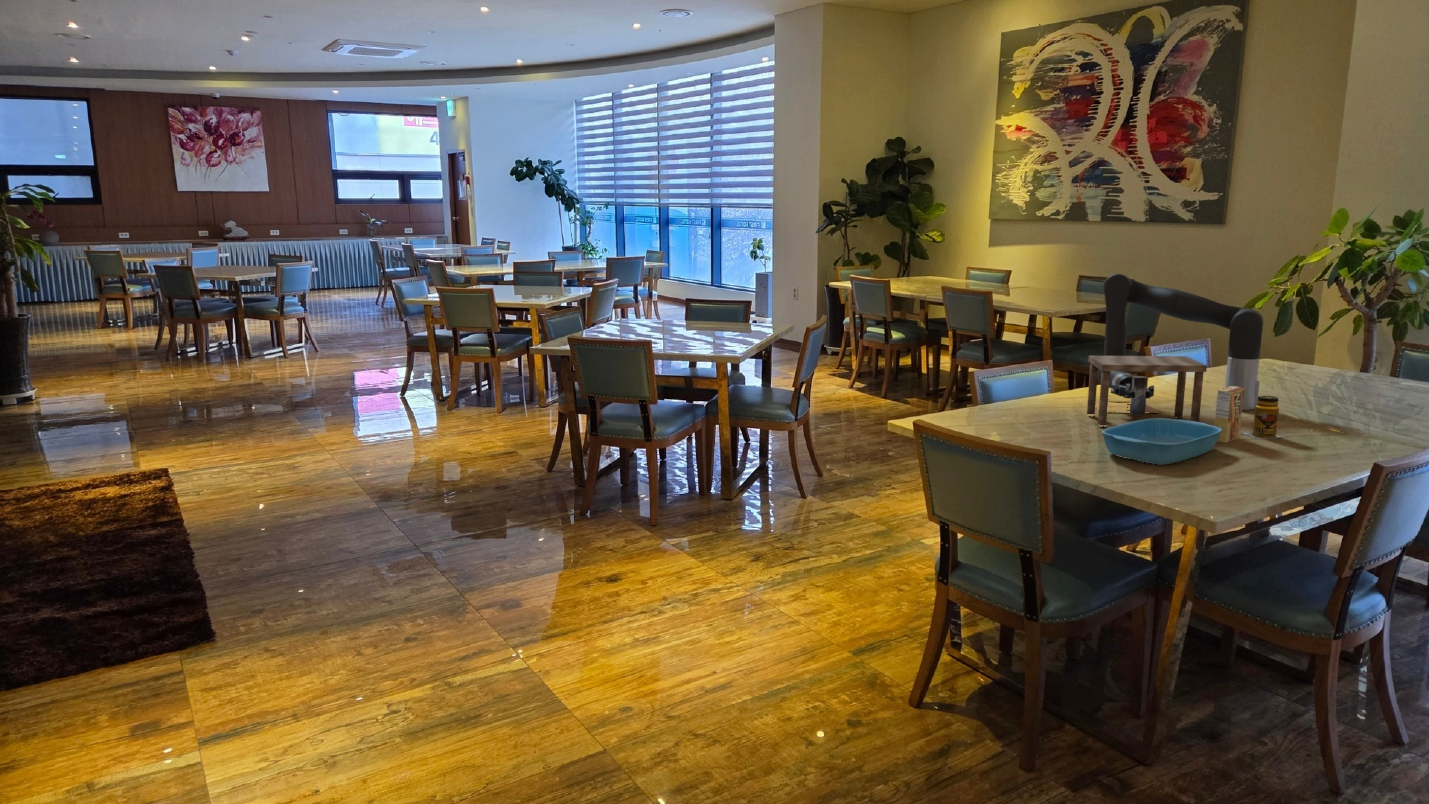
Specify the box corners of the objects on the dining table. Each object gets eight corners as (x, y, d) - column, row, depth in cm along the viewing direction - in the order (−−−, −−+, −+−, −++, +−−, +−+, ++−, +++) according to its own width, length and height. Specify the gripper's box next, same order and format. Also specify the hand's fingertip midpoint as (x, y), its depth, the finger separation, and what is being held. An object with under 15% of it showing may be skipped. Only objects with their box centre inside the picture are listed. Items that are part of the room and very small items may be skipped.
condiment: (1264, 440, 268) (1268, 400, 266) (1240, 433, 276) (1244, 394, 274) (1283, 437, 270) (1288, 398, 268) (1259, 431, 278) (1263, 392, 276)
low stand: (1181, 416, 299) (1186, 356, 295) (1200, 429, 281) (1206, 365, 277) (1084, 415, 304) (1088, 355, 299) (1098, 427, 286) (1102, 364, 282)
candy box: (1224, 435, 274) (1229, 385, 270) (1240, 438, 270) (1245, 387, 267) (1212, 440, 268) (1216, 389, 265) (1227, 443, 265) (1232, 391, 262)
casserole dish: (1155, 435, 276) (1157, 412, 275) (1232, 450, 258) (1235, 425, 257) (1086, 456, 255) (1087, 431, 253) (1164, 474, 237) (1166, 447, 236)
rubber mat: (1144, 403, 319) (1144, 402, 319) (1158, 413, 304) (1158, 412, 303) (1089, 403, 322) (1090, 401, 322) (1101, 412, 306) (1101, 411, 306)
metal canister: (1142, 412, 298) (1145, 376, 295) (1146, 415, 294) (1149, 378, 291) (1128, 412, 299) (1130, 376, 296) (1132, 415, 294) (1134, 378, 292)
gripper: (1104, 374, 310) (1117, 383, 293) (1149, 374, 308) (1165, 384, 291) (1103, 395, 311) (1116, 406, 295) (1147, 396, 309) (1163, 407, 293)
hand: (1140, 395), depth 293 cm, fingers closed on metal canister, 4 cm apart
